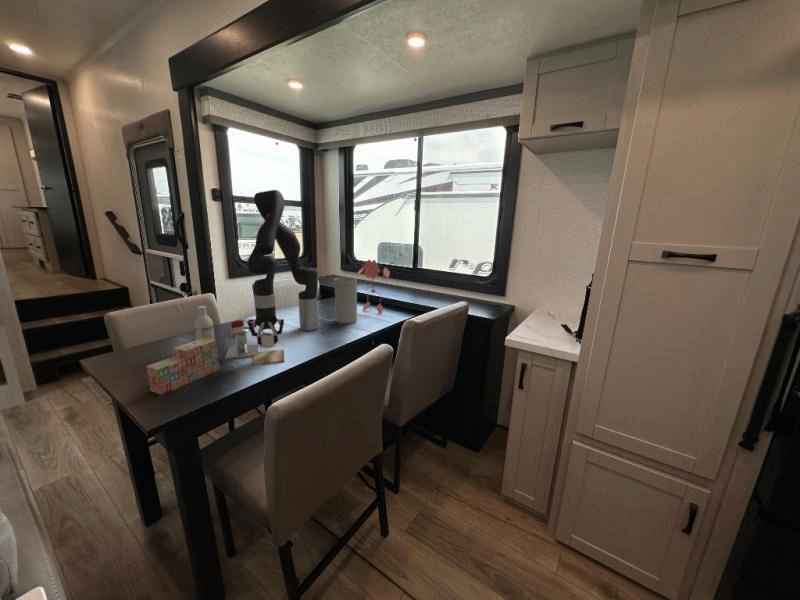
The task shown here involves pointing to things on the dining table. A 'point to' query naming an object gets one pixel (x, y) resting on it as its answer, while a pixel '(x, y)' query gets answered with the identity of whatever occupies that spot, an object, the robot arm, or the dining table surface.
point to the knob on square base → (241, 345)
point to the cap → (267, 340)
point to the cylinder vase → (346, 300)
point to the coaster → (268, 357)
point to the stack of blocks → (184, 366)
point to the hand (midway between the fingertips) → (267, 344)
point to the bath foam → (203, 325)
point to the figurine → (372, 271)
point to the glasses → (241, 324)
